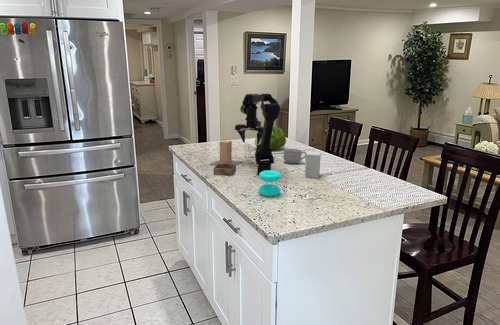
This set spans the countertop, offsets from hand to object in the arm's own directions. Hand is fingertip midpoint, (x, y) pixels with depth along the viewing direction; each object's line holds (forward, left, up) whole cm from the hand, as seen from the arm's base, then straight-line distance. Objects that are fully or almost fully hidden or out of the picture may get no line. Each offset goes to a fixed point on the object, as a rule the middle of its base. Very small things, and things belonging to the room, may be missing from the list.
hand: (251, 143), depth 215 cm
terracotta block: (+14, +5, -13) cm, 19 cm away
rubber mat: (+14, +5, -13) cm, 20 cm away
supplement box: (-38, +1, -13) cm, 40 cm away
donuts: (-30, +37, -13) cm, 49 cm away
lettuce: (+8, -41, -13) cm, 44 cm away
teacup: (-20, -18, -13) cm, 30 cm away
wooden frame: (+5, +20, -13) cm, 24 cm away
